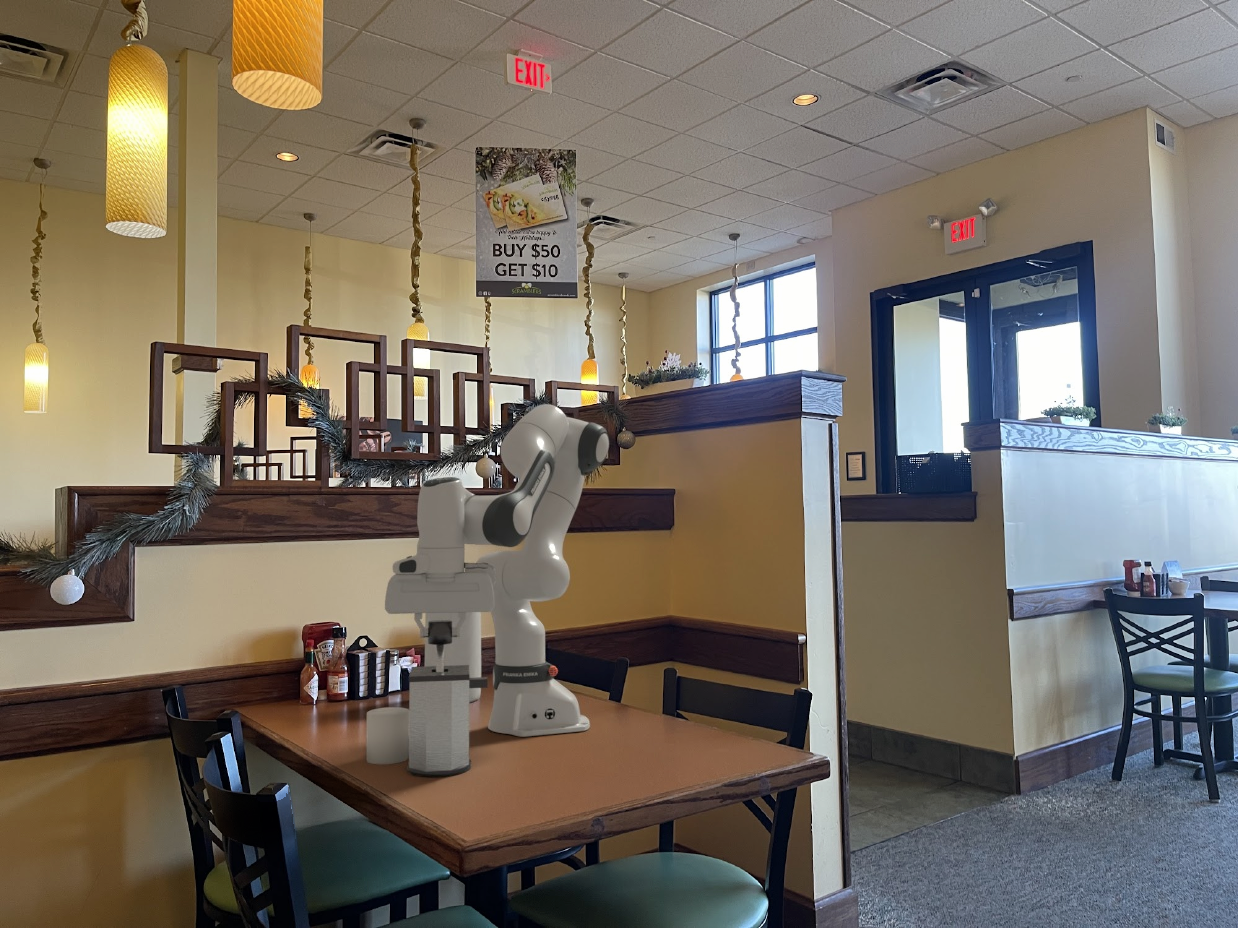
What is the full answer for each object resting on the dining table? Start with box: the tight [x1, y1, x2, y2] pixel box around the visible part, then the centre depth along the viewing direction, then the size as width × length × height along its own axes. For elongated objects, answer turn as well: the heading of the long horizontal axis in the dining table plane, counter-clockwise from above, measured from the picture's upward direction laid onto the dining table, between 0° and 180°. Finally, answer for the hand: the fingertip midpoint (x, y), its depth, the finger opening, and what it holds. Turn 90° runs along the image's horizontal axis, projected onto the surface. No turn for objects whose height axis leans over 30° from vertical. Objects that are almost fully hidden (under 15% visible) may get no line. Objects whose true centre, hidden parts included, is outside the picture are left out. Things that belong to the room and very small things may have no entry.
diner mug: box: [365, 706, 409, 765], centre depth 177 cm, size 8×11×9 cm
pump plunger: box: [428, 620, 452, 672], centre depth 169 cm, size 4×4×21 cm
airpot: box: [406, 665, 489, 778], centre depth 168 cm, size 15×12×18 cm
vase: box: [424, 612, 482, 703], centre depth 232 cm, size 14×14×32 cm
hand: (440, 637), depth 169 cm, fingers closed on pump plunger, 4 cm apart
